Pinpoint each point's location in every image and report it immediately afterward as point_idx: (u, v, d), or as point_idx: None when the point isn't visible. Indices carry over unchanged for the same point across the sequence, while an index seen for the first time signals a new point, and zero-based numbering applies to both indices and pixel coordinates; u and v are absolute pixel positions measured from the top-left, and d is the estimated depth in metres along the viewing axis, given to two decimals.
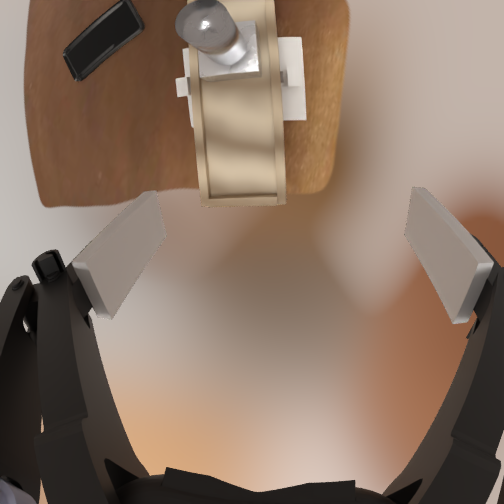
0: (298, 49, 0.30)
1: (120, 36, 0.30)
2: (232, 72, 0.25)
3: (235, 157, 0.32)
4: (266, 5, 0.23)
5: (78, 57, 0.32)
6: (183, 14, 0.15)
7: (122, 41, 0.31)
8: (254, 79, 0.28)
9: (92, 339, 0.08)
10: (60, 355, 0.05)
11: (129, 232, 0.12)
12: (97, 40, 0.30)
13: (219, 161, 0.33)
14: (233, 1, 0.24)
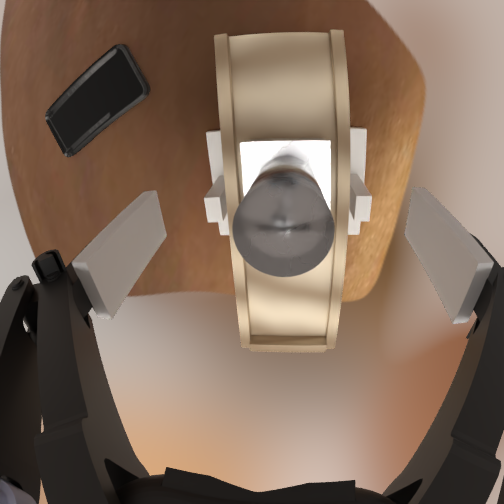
0: (361, 146, 0.26)
1: (117, 102, 0.26)
2: None
3: (282, 301, 0.28)
4: (338, 98, 0.19)
5: (65, 124, 0.28)
6: (247, 211, 0.11)
7: (120, 109, 0.27)
8: None
9: (92, 339, 0.08)
10: (60, 355, 0.05)
11: (129, 232, 0.12)
12: (87, 104, 0.26)
13: (263, 304, 0.29)
14: (286, 80, 0.20)
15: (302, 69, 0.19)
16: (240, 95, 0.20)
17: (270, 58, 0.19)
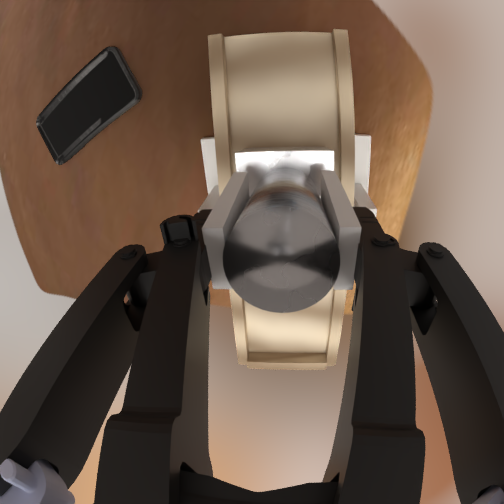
0: (364, 154, 0.25)
1: (108, 107, 0.25)
2: None
3: (281, 318, 0.27)
4: (342, 103, 0.17)
5: (56, 130, 0.26)
6: (240, 241, 0.10)
7: (112, 115, 0.25)
8: None
9: (206, 318, 0.09)
10: (169, 334, 0.06)
11: (238, 206, 0.13)
12: (78, 109, 0.25)
13: (260, 321, 0.27)
14: (286, 83, 0.18)
15: (303, 72, 0.18)
16: (236, 100, 0.19)
17: (268, 60, 0.17)
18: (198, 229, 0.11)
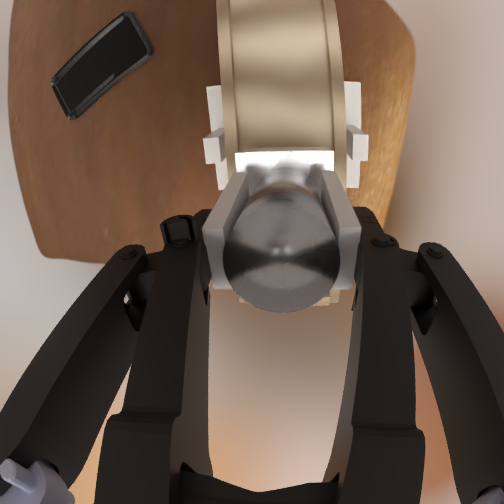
0: (356, 98, 0.25)
1: (122, 63, 0.25)
2: None
3: None
4: (330, 42, 0.18)
5: (70, 88, 0.27)
6: (240, 241, 0.10)
7: (125, 70, 0.26)
8: None
9: (206, 318, 0.09)
10: (169, 334, 0.06)
11: (238, 206, 0.13)
12: (92, 67, 0.25)
13: None
14: (282, 30, 0.19)
15: (296, 21, 0.18)
16: (239, 43, 0.20)
17: (267, 12, 0.18)
18: (198, 229, 0.11)
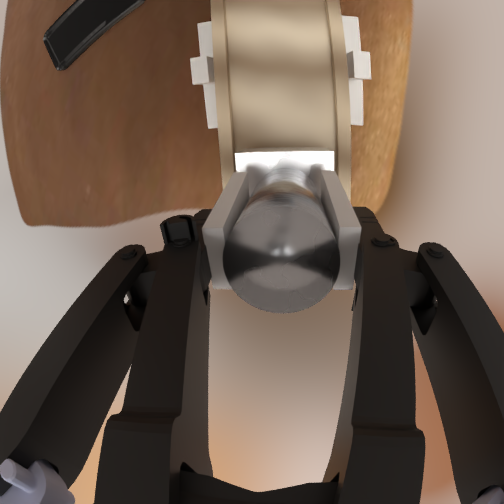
0: (354, 32, 0.20)
1: (114, 10, 0.21)
2: None
3: None
4: None
5: (61, 40, 0.22)
6: (240, 241, 0.10)
7: (116, 16, 0.21)
8: (308, 63, 0.18)
9: (206, 318, 0.09)
10: (169, 334, 0.06)
11: (238, 206, 0.13)
12: (85, 17, 0.21)
13: None
14: None
15: None
16: None
17: None
18: (198, 229, 0.11)
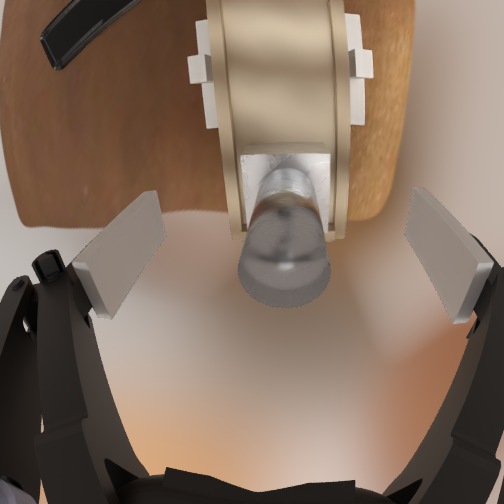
0: (355, 30, 0.20)
1: (111, 8, 0.20)
2: None
3: None
4: None
5: (58, 39, 0.22)
6: (251, 257, 0.12)
7: (113, 14, 0.20)
8: (308, 64, 0.18)
9: (92, 339, 0.08)
10: (60, 355, 0.05)
11: (129, 232, 0.12)
12: (82, 16, 0.20)
13: None
14: None
15: None
16: None
17: None
18: None
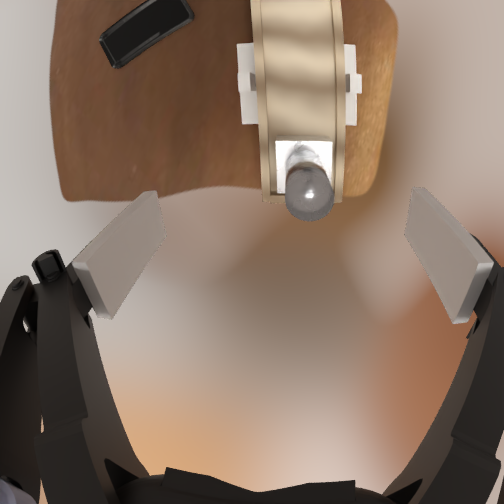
0: (351, 56, 0.30)
1: (167, 24, 0.30)
2: None
3: None
4: (334, 10, 0.22)
5: (117, 43, 0.32)
6: (293, 188, 0.22)
7: (169, 29, 0.31)
8: (319, 83, 0.28)
9: (92, 339, 0.08)
10: (60, 355, 0.05)
11: (129, 232, 0.12)
12: (140, 26, 0.30)
13: None
14: None
15: None
16: (266, 7, 0.23)
17: None
18: None
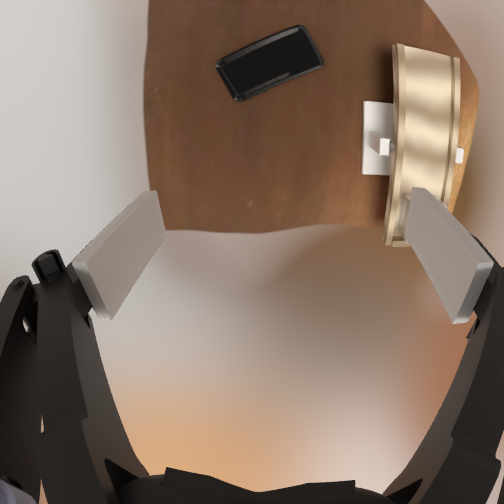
0: None
1: (297, 66, 0.35)
2: None
3: None
4: (455, 95, 0.27)
5: (239, 74, 0.37)
6: None
7: (299, 72, 0.36)
8: (437, 155, 0.33)
9: (92, 339, 0.08)
10: (60, 355, 0.05)
11: (129, 232, 0.12)
12: (267, 62, 0.36)
13: None
14: (430, 79, 0.28)
15: (437, 75, 0.27)
16: (407, 82, 0.29)
17: (422, 65, 0.27)
18: None
